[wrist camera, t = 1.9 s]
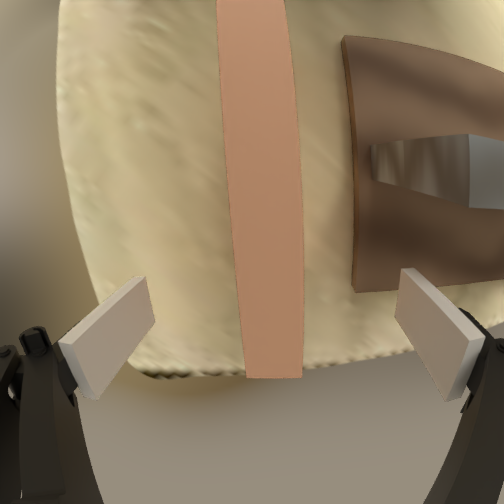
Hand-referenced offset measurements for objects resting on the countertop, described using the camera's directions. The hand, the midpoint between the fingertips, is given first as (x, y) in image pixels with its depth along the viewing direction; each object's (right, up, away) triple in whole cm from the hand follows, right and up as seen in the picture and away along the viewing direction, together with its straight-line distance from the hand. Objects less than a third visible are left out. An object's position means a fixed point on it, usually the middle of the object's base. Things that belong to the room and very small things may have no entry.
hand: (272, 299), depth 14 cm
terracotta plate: (+1, +9, +7) cm, 11 cm away
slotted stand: (+17, +9, +5) cm, 20 cm away
